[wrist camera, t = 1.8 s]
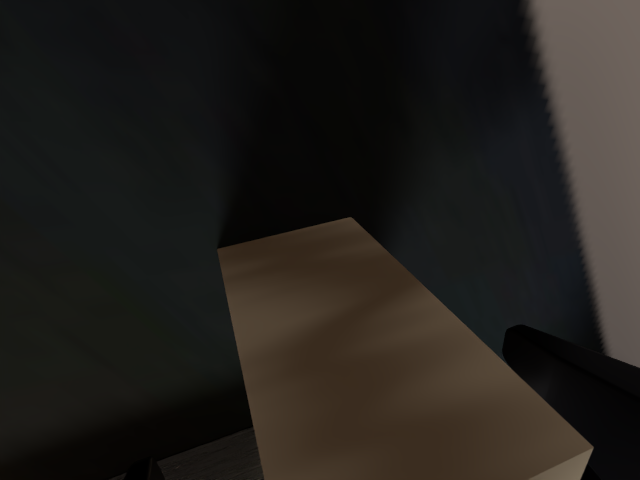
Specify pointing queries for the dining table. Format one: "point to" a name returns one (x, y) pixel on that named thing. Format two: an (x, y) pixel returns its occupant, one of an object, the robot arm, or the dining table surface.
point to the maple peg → (377, 371)
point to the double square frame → (216, 460)
